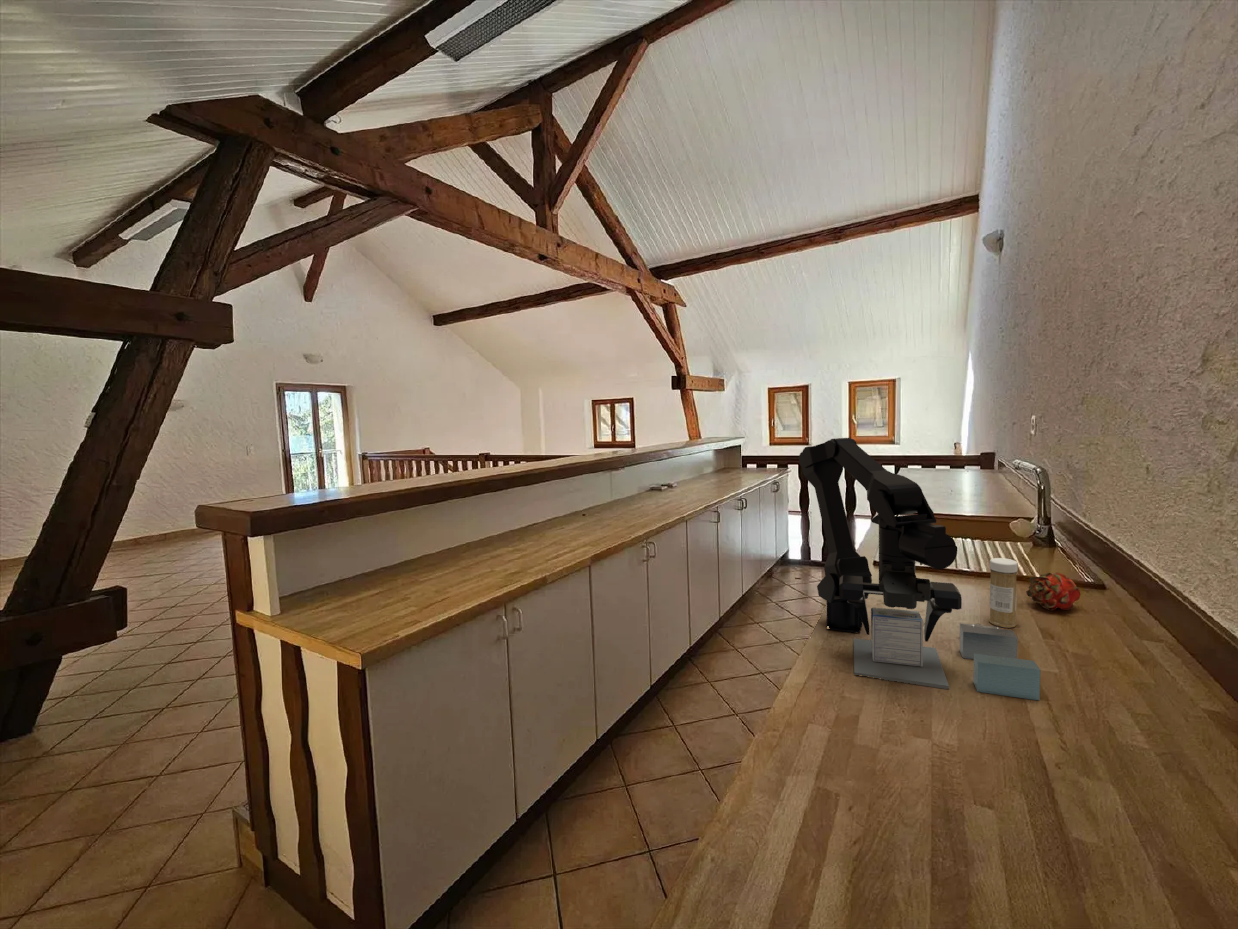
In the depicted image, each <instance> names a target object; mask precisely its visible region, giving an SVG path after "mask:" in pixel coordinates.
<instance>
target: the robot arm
mask: <svg viewBox="0 0 1238 929" xmlns="http://www.w3.org/2000/svg"><path fill="white" fill-rule="evenodd" d="M798 455H799V456H798V463H799V465H800V467H801V469H802V473H803V477H804V478H805V479H806V480H807V481H808V482H809V483H810V484H811V485H812V487H814V490H815V495H816V501H817V505H818V509H819V514H820V518H821V524H822V528H823V532H824V537H825V540H826V541H825V542H826V546H827V550H828V555H827V558H826V561H825V564H824V567H823V568H824V569H823V570H824V577H823V578H822V580H821V581H820V582H819V583H818V584H817V585H816V588H817V589H816V590H817V594H818V597H820V598H822V599H823V600H824V601H826V622H825V628H826V627H827V626H829V628H830V629H832V630H831V631H837V630H838V631H839V632H848V633H854V632H860V633H861V628H862V627H863V628H864V630H865V633H866V635H867V636H870V622H869V615H868V609H867V608H868V607H867V601H866V600H868V599H869V595H879V596H882V597H883V604H884V605H885V606H886V607H888V608H891V609H895V608H902V609H903V608H904V609H906V610H915V609H917V605H918V602H919V603H920V602H921V603H925V601H926V602H927V603H926V612H925V620H924V626H923V640H924V642H927V643H928V642H929V640H930V638H931V635H932V633H933V631H934V629H935V626H936V624H937V622H938V621H939V620H940V618H942V616H943V615H944V614H951V613H952V612H953V610H955V611H957V610H959V611H960V610H962V604H963V603H962V601H963V600H962V594H961V592H960V591H959V589H958V587H957V586H956V585H955V584H954V583H951V582H939V581H930V579H929V578H920V577H917V576H916V562H917V563H919V564H922V565H924V566H927V567H929V568H932V569H934V570H940V571H941V570H944V569H947V568H949V567H950V566H951V565H952V564H953V563H954V562H955V561H956V557H957V554H958V546H957V545H956V542H955V540H954V539H953V538H952V536H951V535H949V534H947V533H946V532H947V527H946V526H944V525H942V524H936V523H937V519H936V516H935V514H934V510H933V509H932V508H931V507H930V505H929V502H928V500H927V498H926V497H925V494H924V492H923V489H922V487H921V486H920V485H919V484H918V483H917V482H915V481H913V480H912V479H910V478H908V477H907V476H904V475H901V474H897V473H894V472H891V471H889V470H887V469H885V467H884V466H882V464H880V463H879V462H878V461H876V460H875V459H874V458H873V457H872V456H871V455H870V454H868V453H867V452H866V451H865V450H863V449H862V448H861V447H860V446H859V445H858V444H857V441H856V440H855V438H851V437H840V438H838V437H837V438H836V437H835V438H831V439H829V440H826V441H824V442H822V443H820V444H816V445H813V446H812V445H810V446H805V447H803V450H802V451H801V452H800V453H799V454H798ZM844 470H845V471H847V473H849V474H850V475H851V476H852V477H853V478H854V479H855V480H856V481H857V482H858V483H859V484H860V485H861V486H862V487H863V488H864V489H865V491H866V500H867V501H868V503H869V504H870V505H871V507H872V508H873V509H874V511H875V512H876V513H877V514H876V515H875V516H874V517H873V518H871V523H873V524H876V525H878V583H874V582H873V579H872V577H873V575H872V573H871V570H870V567H869V566H870V565H869V560H868V558H867V557H866V556H865V555H863V556H861V555H860V554H859V553H858V551H856V550H855V548H854V543H853V539H852V536H851V530H850V526H849V522H848V518H847V513H846V510H845V504H844V502H843V497H842V493H841V488H840V483H839V482H840V479H841V477H842V474H843V472H844Z"/></svg>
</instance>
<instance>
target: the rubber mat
mask: <svg viewBox="0 0 1238 929" xmlns="http://www.w3.org/2000/svg"><path fill="white" fill-rule="evenodd" d="M944 670H945V669H944V668H943V665H942V662H941V658H940V656H939V654H938V651H937V648H936V647H930V646H923V666H922V667H921V666H912V665H903V664H894V663H885V662H876V661H873V657H872V649H871V639H862V638H856V637H854V638H853V672H854V675H862V676H869V677H874V678H881V679H884V680H883V681H888V680H889V682H894V681H897V682H896V683H901V682H904V683H903V684H908V683H910V685H915V684H916V686H922V687H930V688H936V689H937V688H938V689H945V690H950V685H949V682H948V680H947V676H946V674H945V671H944ZM854 675H853V676H854ZM874 678H873V679H874ZM881 679H880V680H881Z"/></svg>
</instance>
